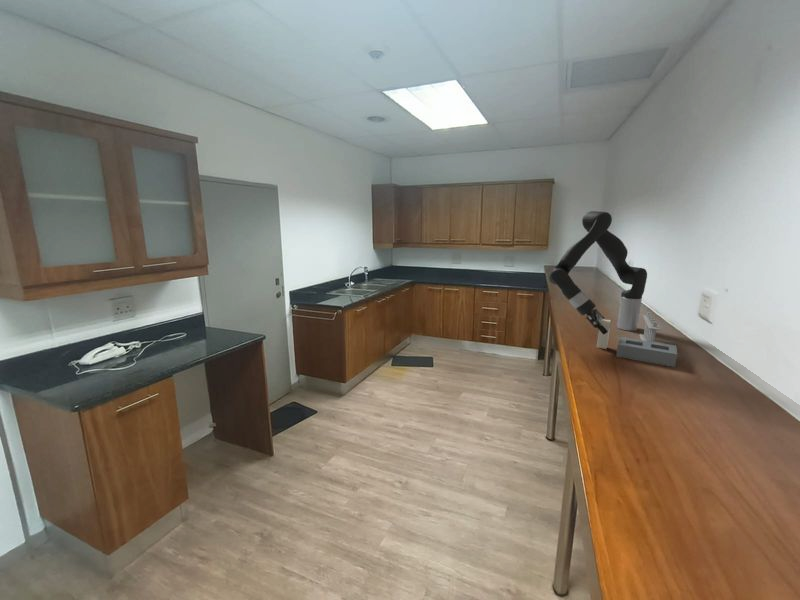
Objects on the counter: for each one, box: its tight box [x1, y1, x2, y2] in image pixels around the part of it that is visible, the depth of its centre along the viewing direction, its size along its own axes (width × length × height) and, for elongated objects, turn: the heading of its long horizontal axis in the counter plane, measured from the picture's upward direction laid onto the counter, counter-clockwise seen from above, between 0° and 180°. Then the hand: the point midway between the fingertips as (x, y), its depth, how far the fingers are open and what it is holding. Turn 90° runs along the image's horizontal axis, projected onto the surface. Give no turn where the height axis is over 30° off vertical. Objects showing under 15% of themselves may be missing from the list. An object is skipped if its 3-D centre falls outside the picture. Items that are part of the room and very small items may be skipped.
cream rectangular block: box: [596, 318, 611, 350], centre depth 159 cm, size 3×4×13 cm
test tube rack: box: [639, 311, 662, 342], centre depth 163 cm, size 25×4×13 cm, turn 151°
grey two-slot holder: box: [615, 336, 678, 368], centre depth 147 cm, size 12×20×6 cm, turn 53°
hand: (607, 330), depth 157 cm, fingers open, 8 cm apart
